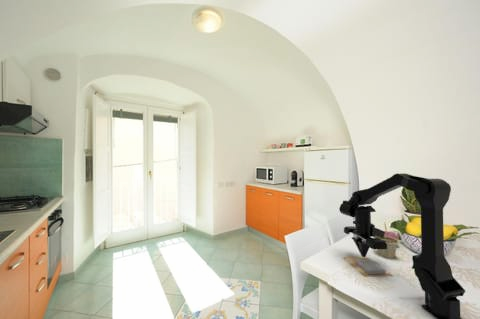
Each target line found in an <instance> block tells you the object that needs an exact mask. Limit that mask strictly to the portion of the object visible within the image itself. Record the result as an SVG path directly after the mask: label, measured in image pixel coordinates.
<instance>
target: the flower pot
mask: <svg viewBox="0 0 480 319" xmlns="http://www.w3.org/2000/svg"><path fill="white" fill-rule="evenodd" d="M373 238H379V239H381V240H383V241H385V242H386V243H387V249H376V250H377V251H376V252H377V254H378V255H379V256H380V257H382V258H386V259H395V258H396V252H397V247H398V245H399V243H400V241H399V240H396V239H394V238H392V237H388V236H384V238H383V239H382V238H381V237H378V236H375V237H373Z"/></svg>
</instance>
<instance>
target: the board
mask: <svg viewBox="0 0 480 319" xmlns="http://www.w3.org/2000/svg"><path fill="white" fill-rule="evenodd" d="M342 259H343V260H344V261H345V262H346V263H347V264H348V265H350V266H351V267H352V268H353V269H354V270H355V271H356V272H358V273H359V274H360V275H361V276H363V277H364V278H365V277H366V278H367V277H371V278H372V277H394V275H393V274H392V273H391V272H389V271H388V270H386V269H385V274H367V273H366V272H365V271H363V270H362V269H361V268H360V267H358V266H357V265H356V261H373V260H371V259H370V258H369V257H342Z"/></svg>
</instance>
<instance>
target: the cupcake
mask: <svg viewBox="0 0 480 319" xmlns="http://www.w3.org/2000/svg"><path fill="white" fill-rule="evenodd" d="M386 224H387V223H386V222H385V221H384V224H383V225H384V229H385V230H384V231H385V235H384V236H388V237H392V238H394V239H396V240H398V241H399V240H400V237H399V235H398V234H396V233H394V232H392V231H388V229H387V225H386Z"/></svg>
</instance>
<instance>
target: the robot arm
mask: <svg viewBox="0 0 480 319" xmlns="http://www.w3.org/2000/svg"><path fill="white" fill-rule="evenodd" d="M399 188H404V189H405V190H408V191H412V192H413V195H414V199H415V200H416V201H417V203H418V205H419V208H420V234H421V235H420V236H421V237H420V238H421V240H420V242H421V252H420V253H419V254H414V255H412V256H411V257H412V258H411V259H412V267H411V269H413V271H414V275H415V277H417V280H418V282H419V285H420V287H421V290H422V292H424V303H425V304H424V303H423V304H421V307H422V308H423V309H424V310H426V311H427V312H428V313H429V314H430V315H432V316H433V317H435V319H463V317H462V316H461V300H460V299H459V298H457V297H463V296H465V295H464V294H465V293H466V289H464V288H463V286H462V284H460V283H459V282H458V280H456V278H455V277H454V276H453V271H452V268H451V265H450V263H449V262H448V260H447V258H446V257H445V243H444V242H445V241H444V239H445V238H444V209H445V206H446V204H448V202H449V199H450V195H451V193H452V192H451V190H452V187H451V185H450V183H449V182H447V181H446V180H444V179H441V178H428V177H421V176H417V175H412V174H409V173H394V174H393V175H392V176H390V177H388V178H386V179H385V180H383V181H381V182H378V183H377V184H375V185H372V186H371V187H369V188H365V189H361V190H360V189H359V190H356V191H354V192H352V194H351V195H352V196H351V197H350V199H349V200H342V203H341V204H340V206H339V212H340V214H342V215H345V216H347V217H352V218H354V220H353V221H352V224H354V225H353V226H345V227H343V233H345V234H346V235H349V234H350V233H351V234H352V235H353V236H352V237H351V239H352V240H353V242H354V243H355V245H356V248H357V250H358V251H359V252H358V253H360V255H361V258H367V257H366V256H367V255H368V251H369V250H370V249H372V250H377V249H387V243H386V242H385V241H383V240H381V239H379V238H374V237H375V236H378V237H381V238H382V239H383V238H384V235H385V230H382V229H380V228H377V227H376V225H375V224H374V223H372V214H371V213H375V212H377V210H376V209H375V208H374V207H373V206H372V204H373V203H374V202H376V201H377V200H378V199H379V197H382V196H383V195H386V194H388V193H390V192H392V191H395V190H398V189H399ZM365 205H366V206H365Z"/></svg>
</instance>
